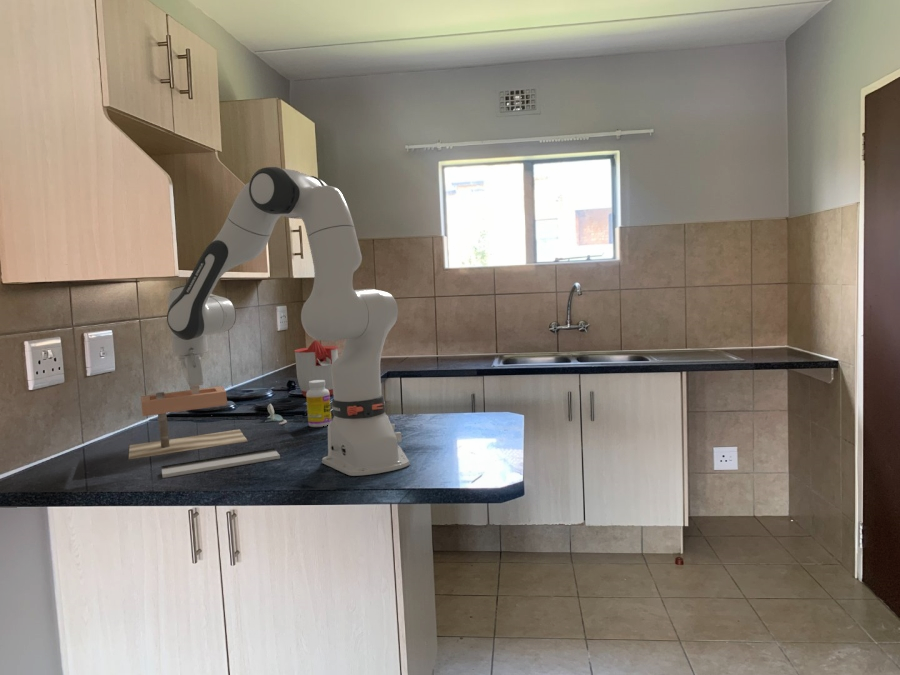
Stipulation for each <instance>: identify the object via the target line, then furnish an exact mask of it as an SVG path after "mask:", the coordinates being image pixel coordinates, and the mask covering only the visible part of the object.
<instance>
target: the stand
mask: <svg viewBox="0 0 900 675" xmlns="http://www.w3.org/2000/svg"><path fill="white" fill-rule="evenodd" d="M164 393H165V392H162V391H160V392H156V393H155V394H156V399H161V398H165V396H164ZM157 420H158V430H159V439H160V440H157V441H150V442H144V443H143V442H142V443H136V444H130V445H129V449H128V460H134V459H140V458H141V459H142V458H146V457H147V458H148V457H154V456H159V455H161V456H162V455H167V454H173V453H180V452H185V451H194V450H199V449H206V448H211V447H212V448H213V447H218V446H220V447H221V446H225V445H227V446H228V445H232V444H238V443H240V444H241V443H245V442H246V443H247V442H248V439H247V437H245V435H244V434H243V432H242V430H241V429H233V430H226V431H219V432H214V433H213V432H211V433H205V434H198V435H191V436H185V437H178V438H170V439H169V429H168V428H169V426H168V418H167V413H163V414H157Z"/></svg>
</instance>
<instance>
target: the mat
mask: <svg viewBox="0 0 900 675" xmlns="http://www.w3.org/2000/svg"><path fill="white" fill-rule="evenodd" d="M279 459H281V455H280V454H279V452H278V451H277V450H276V449H275V447H274V448H268V449H262V450H256V451H249V452H242V453H236V454H230V455H223V456H216V457H211V458H205V459H199V460H193V461H186V462H180V463H174V464H167V465H161V468H160V469H161V475H162V479H164V478H165V479H166V478H172V477H176V476H178V477H179V476H182V475H188V474H196V473H201V472H207V471H212V470H218V469H225V468H231V467H236V466H243V465H249V464H255V463H260V462H267V461H273V460H279Z"/></svg>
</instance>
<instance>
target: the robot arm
mask: <svg viewBox="0 0 900 675" xmlns="http://www.w3.org/2000/svg"><path fill="white" fill-rule="evenodd" d="M346 201H347V200H345V197H344V195H343V193H342V192H341V191H340V190H339V189H338V188H337V187H335V186H331V185H328V184H327V183H325V182H324V181H323V180H322V179H320V178H318V177H316V176H314V175H308V174H306V173H303V172H300V171H298V170H295V169H288V168H281V167H278V166H266V167H262V168H260V169H258V170H257V171H256V172H254V173H253V174H252V176H251V178H250V181H249V182H247V183H245V185H244V186H242V188H241V189H240V191H239V193H238V194H237V197H236V198H235V200H234V202H233V204H232V206H231V208H230V210H229V212H228V215H227V216H226V219H225V221H224V223H223V226H222V227H221V229H220V231H219V232H218V233H217V235H216V237H215V238H214V239H212V240H213V241H211V242H210V243H209V244H208V245H207V247H206V248H205V249H204V251H203V252H202V253H201V256H200V258H199V259H198V261H197V263H196V265H195V267H194V269H193V270H192V272H191V273H190V275H189V277H188V280H187V282H186V283H185V285H180V286H177V287H174V288H172V289H171V290H169V293H168V300H167V310H168V311H167V313H166V314H167V315H166V322H167V325H168V328H169V329H170V331H171V333H170V340H171V350H172V355H173V356H177V357H178V361H179V362H180V365H181V369H182V372H183V377H184V378H185V380H186V382H187V385H188V386H189V390H191V392H192V395H193V394H199V389H200V386H202V385H204V381H205V380H204V372H203V364H202V360H203V359H204V358H205V355H204V353H205V354H206V353H208V352H209V344H208V336H210V335H215V334H220V333H225V332H229V331H230V330H231V329H232V328H233V326H234V325H235V323H236V321H237V310H236V307H235V306H234V303H233V301H231V300H230V299H229V298H227V297H226V296H220V295H215V294H212V293H213V291H214V290H215V287H216V286H217V284H218V282H219V280H220V279H221V277H222V276H223V275H224V274H226V273H227V272H228V271H230V270H232V269H234V268H236V267H238V266H240V265H242V264H245V263H247V262H250V261H253V260H255V259H256V258H258V257H259V256H260V255H261V254H262V253H263V251H264V250H265V248H266V247H267V245H268V243H269V240H270V238H271V235H272V233H273V230H274V228H275V225H276V224H277V221H278V220H279V219H280V218H281V217H285V218H288V219H296V220H300V219H301V221H302V222H303V224H304V227H305V232H306V238H307V241H308V245H309V249H310V253H311V254H310V255H311V259H312V264H313V270H314V276H313V277H314V279H313V284H312V286H313V287H312V290H311V293H310V294H309V297H308V298H307V299H306V300H305V302H304V303H303V306H302V307H301V311H300V312H301V313H300V320H301V325H302V328H303V330H304V331H305V333H306V334H307V335H308V337H310V338H311V339H313V340H316V341H325V342H337V341H343V340H344V346H343V348H342V351H341V353H340V355H338V358H337V359H336V360H335V362H334V363H333V365H332V383H333V395H332V396H333V398H332V400H331V410H332V415H333V418H332V419H331V421H332V422H331V423H330V424H329V425H328V426H327V452H328V454H327V456H324V457H322V459H321V460H322V461H321V463H322V464H324V465H325V466H328V467H329V468H332V469H334V470H337V471H339V472H341V473H343V474H346V475H348V476H351V477H352V476H353V477H355V476H356V477H357V476H368V475H376V474H381V473H388V472H392V471H396V470H400V469H404V468H406V467H408V466H410V460H409V458H408V457H407V456H406V453H405V452H404V450H403V449H402V447H401V446H400V445H398V443H401V442H402V441H403V440H402V438H403V436H402V432H401V431H395V430H396V426H395V423H391V421H390V419H389V418H390V417H389V416H388V415H387V413H386V412H387V408H386V402H385V398H384V395H383V394H382V385H381V384H382V383H381V381H382V380H381V358H382V354H383V349H384V346H385V345H384V344H385V341H386V339H387V336H388V334H389V333H390V331H391V330H392V328H394V325H396V322H397V320H398V316H399V307H398V304H397V301H396V299H395V297H394V296H393V295H392V294H391V293H390V292H387V291H384V290H380V289H376V288H363V289H354V285H353V282H354V280H353V277H354V273H355V272H356V271H357V270H358V269H359V267H360V266H361V264H362V262H363V257H362V256H363V255H362V252H361V247H360V244H359V239H358V237H357V231H356V227H355V224H354V220H353V218H352V214H351V211H350V208H349V206H348V204H347V202H346Z"/></svg>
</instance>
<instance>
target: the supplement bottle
mask: <svg viewBox="0 0 900 675" xmlns="http://www.w3.org/2000/svg"><path fill="white" fill-rule="evenodd" d="M309 387H310V390H309V391H307V393H306V410H307V421H308V426H309V427H310V428H323V426H324V427H328V426H327V425H329V424H330V423H331V422H332V405H331V395H330V393H329V390H327V389H325V380H313V381H309Z"/></svg>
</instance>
